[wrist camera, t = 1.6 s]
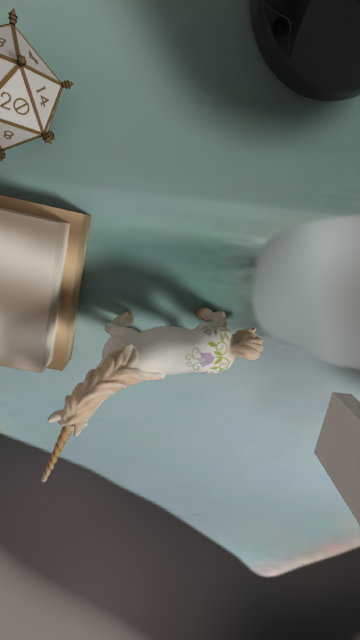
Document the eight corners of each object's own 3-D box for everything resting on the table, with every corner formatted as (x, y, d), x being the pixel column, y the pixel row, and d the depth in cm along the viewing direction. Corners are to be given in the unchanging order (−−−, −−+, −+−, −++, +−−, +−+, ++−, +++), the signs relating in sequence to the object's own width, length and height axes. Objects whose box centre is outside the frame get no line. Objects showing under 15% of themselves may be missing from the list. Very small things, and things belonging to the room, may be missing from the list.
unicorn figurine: (56, 334, 34) (-10, 400, 21) (232, 267, 33) (275, 294, 20) (86, 391, 36) (41, 483, 23) (253, 330, 35) (304, 391, 22)
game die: (59, 110, 31) (106, 55, 24) (30, 189, 31) (68, 159, 23) (-48, 31, 26) (-33, -74, 18) (-88, 126, 25) (-91, 57, 17)
